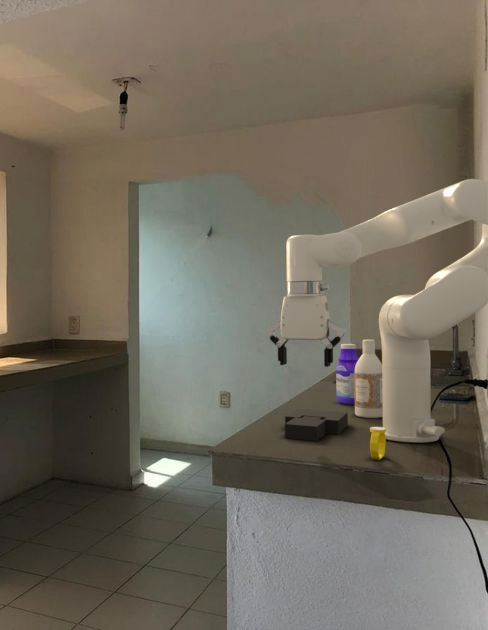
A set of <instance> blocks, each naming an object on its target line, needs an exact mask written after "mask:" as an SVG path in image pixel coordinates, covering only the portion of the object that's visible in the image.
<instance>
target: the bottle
mask: <svg viewBox="0 0 488 630" xmlns="http://www.w3.org/2000/svg"><path fill="white" fill-rule="evenodd" d="M357 353H358V352H357V344H356V343H355V344H354V343H341V344H340V353H339V356H338V358H337V361H338V363H337V365H336V368H335V373H336V374H335V377H336V379H335V383H336V384H335V385H336V400H337V401H336V402H338V403H340V404H344V405H349V406H351V405H352V406H353V405H355V373H354V372H355V366H356V363H357V361H358V360H359V358H360V357H358V354H357Z"/></svg>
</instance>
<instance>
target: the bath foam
mask: <svg viewBox="0 0 488 630" xmlns="http://www.w3.org/2000/svg"><path fill="white" fill-rule="evenodd" d="M358 358H359V360H358V361H357V363H356V366H355V372H354V373H355V404H354V414H355V416H357V417H359V418H363V419H364V418H365V419H380V418H383V393H382V361H381V360H380V359H379V357H378V356H377V355H376V341H375V339H362V354H361V355H360V356H359V357H358Z"/></svg>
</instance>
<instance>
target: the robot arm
mask: <svg viewBox="0 0 488 630" xmlns="http://www.w3.org/2000/svg"><path fill="white" fill-rule="evenodd" d="M469 221H475V222H478V223H479V224H482V227H481V231H482V232H481V239H480V242H479V244H478V245H477V246H476V247H475V248H474V249H472V250H470V252H468V253H467V254H466V255H464V256H463V257H460V258H459V259H457V260H456V261H454V262H452V263H451V264H450V265H447V266H446V267H444V268H442V269H440V270H439V271H437V272H436V273H434V274H432V276H431V277H430V278H429V279H428V280H427V282H426V284H425V287H424V289H422V290H421V291H418V292H417V293H416V294H399V295H395V296H393V297H391V298H389V299H388V300H386V302H384V303H383V305H382V306H381V307H380V310H379V316H378V330H379V337H380V343H381V344H380V345H381V364H382V393H383V417H382V427H383V428H385V429H386V432H385V438H386V441H387V440H388V441H394V442H400V443H415V444H417V443H432V442H437V441H439V439H440V437H441V436H442V434H444V433H445V431H446V429H445V427H443V426H439V425H436V419H434V418H432V408H431V407H432V406H431V404H432V403H431V402H432V401H431V400H432V399H431V398H432V396H431V395H432V394H431V392H432V390H431V389H432V388H431V386H432V385H431V349H430V343H429V340H430V339H434V338H436V337H437V336H439V335H442V334H443V333H445V332H447V331H448V330H450V329H452V328H453V327H455V326H457V325H458V324H460V323H461V322H463V321H465V320H467V319H468V318H470V317H471V316H473V315H474V314H476V313H478V312H479V311H480V310H482V309H483V308H484V307H485V306H487V304H488V180H483V179H478V178H477V179H476V178H467V179H464V180H461V181H459V182H457V183H454V184H451V185H449V186H446V187H444V188H441V189H438V190H436V191H434V192H431V193H429V194H426V195H424V196H421V197H418V198H416V199H413V200H411V201H408V202H405V203H403V204H401V205H398V206H395V207H393V208H391V209H389V210H386V211H383V212H382V213H380V214H379V215H377V216H375V217H373V218H371V219H369V220H365V221H364V222H361V223H359V224H357V225H354V226H351V227H348V228H346V229H344V230H341V231H339V232H333V233H326V234H318V235H317V234H297V235H291V236H289V237H288V238H287V240H286V244H285V245H286V246H285V248H286V251H285V252H286V253H285V255H286V256H285V257H286V259H285V260H286V296H283V300H282V306H281V313H280V321H278V322H276V323H274V324H272V325H270V326H268V327H266V328H265V332H266V334H267V336H268V338H269V341H271V342H272V343H273V345H275V347H276V348H277V361H278V362H279V365H280V366H284V365H286V364H287V363H288V359H287V358H288V356H287V355H288V353H287V352H288V351H287V350H288V349H287V347H286V344H287V343H288V342H289V341H291V340H292V341H320V342H321V343H322V344H323V345H324V346H325V348H324V349H323V353H324V354H323V360H324V361H323V365H324V367H325V368H328V367H330V366H331V364H333V363H334V348H335V347H336V346H337V345H338V344H339V343H340V342H341V341H342V339H343V338H344V336H345V334H346V332H347V329H346V328H345V327H342V326H341V325H339V324H337V323H334V322H333V321H330V311H329V309H330V308H329V304H328V299H327V295H323V293H324V292H326V291H329V290H330V284H329V283H324V281H323V267H326V268H331V269H334V268H335V269H336V268H342V267H346V266H349V265H352V264H354V263H355V262H357V261H358V259H361V258H364V257H367V256H369V255H372V254H376V253H378V252H381V251H385V250H389V249H394V248H399V247H402V246H405V245H407V244H411V243H414V242H417V241H419V240H421V239H424V238H426V237H429V236H432V235H435V234H437V233H439V232H442V231H445V230H447V229H450V228H453V227H455V226H457V225H461V224H463V223H466V222H469ZM279 329H280V338H279V337H278V336H277V335H276V333H275V331H276V330H279ZM331 330H333V331H334V332H336V335H335V337H333V339H332V340H331V338H330V335H331Z"/></svg>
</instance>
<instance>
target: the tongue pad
mask: <svg viewBox="0 0 488 630" xmlns="http://www.w3.org/2000/svg"><path fill="white" fill-rule="evenodd" d="M326 434H327V433H326V420H322V418H321V417H308V416H304V417H302V418H293V419H292V420H290V421H289V422H287V423H286V424H285V423H284V438H285V439H291V440H302V441H313V442H318V441H319V440H320V439H322V438H323V437H324V436H325V435H326Z"/></svg>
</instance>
